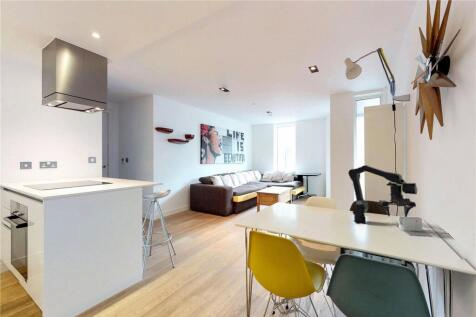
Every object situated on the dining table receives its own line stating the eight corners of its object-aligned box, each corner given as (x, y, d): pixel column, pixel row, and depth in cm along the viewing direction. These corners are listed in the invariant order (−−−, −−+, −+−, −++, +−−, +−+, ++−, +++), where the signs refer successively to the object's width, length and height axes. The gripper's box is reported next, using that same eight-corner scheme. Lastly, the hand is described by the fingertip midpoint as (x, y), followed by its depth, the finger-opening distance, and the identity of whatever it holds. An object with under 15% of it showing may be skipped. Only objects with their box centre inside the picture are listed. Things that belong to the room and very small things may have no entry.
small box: (398, 227, 136) (416, 228, 134) (403, 230, 131) (422, 231, 128) (398, 215, 136) (416, 216, 134) (403, 218, 131) (422, 218, 128)
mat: (410, 235, 123) (410, 234, 123) (396, 226, 141) (396, 225, 141) (432, 236, 120) (432, 236, 120) (415, 227, 138) (415, 226, 138)
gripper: (384, 194, 128) (385, 219, 128) (420, 195, 123) (421, 221, 123) (377, 191, 139) (378, 214, 139) (410, 192, 134) (411, 216, 133)
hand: (397, 216), depth 133 cm, fingers open, 9 cm apart
